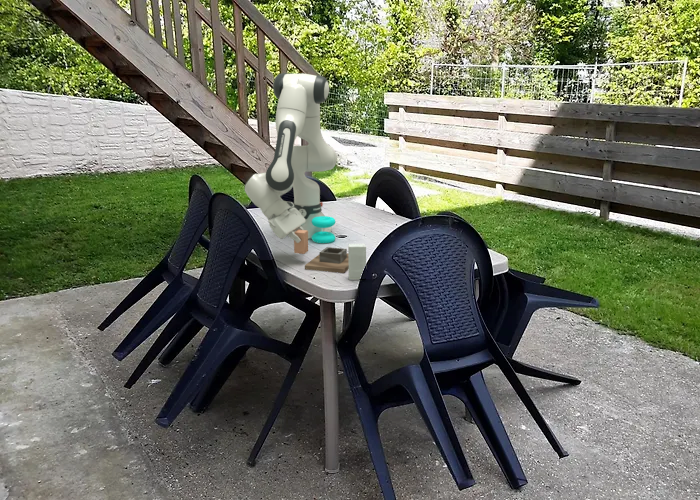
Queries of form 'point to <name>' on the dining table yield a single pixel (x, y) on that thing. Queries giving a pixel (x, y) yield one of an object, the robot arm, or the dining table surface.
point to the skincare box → (356, 260)
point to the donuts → (323, 236)
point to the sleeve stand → (330, 260)
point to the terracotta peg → (301, 242)
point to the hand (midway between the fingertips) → (302, 239)
